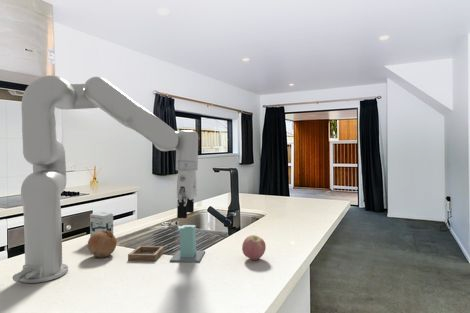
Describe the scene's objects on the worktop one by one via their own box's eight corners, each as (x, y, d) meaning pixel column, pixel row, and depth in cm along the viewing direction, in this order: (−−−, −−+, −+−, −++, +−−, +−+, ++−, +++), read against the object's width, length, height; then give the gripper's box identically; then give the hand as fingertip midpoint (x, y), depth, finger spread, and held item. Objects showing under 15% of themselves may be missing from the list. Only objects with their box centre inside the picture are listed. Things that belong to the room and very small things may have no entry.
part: (192, 257, 103) (192, 228, 103) (180, 257, 104) (179, 228, 104) (196, 253, 108) (195, 225, 108) (183, 252, 108) (183, 225, 108)
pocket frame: (155, 261, 102) (155, 255, 102) (128, 260, 103) (128, 254, 103) (164, 251, 111) (164, 246, 111) (139, 251, 112) (139, 245, 112)
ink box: (89, 242, 124) (89, 213, 124) (100, 239, 129) (99, 211, 128) (104, 245, 120) (103, 215, 120) (114, 241, 124) (113, 213, 124)
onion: (113, 262, 110) (126, 236, 111) (96, 264, 101) (110, 236, 102) (95, 250, 113) (107, 225, 114) (76, 251, 104) (90, 224, 105)
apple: (246, 264, 98) (245, 240, 98) (239, 256, 105) (239, 234, 105) (268, 262, 100) (268, 238, 100) (260, 254, 107) (260, 232, 107)
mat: (199, 262, 100) (199, 260, 100) (170, 261, 101) (170, 259, 101) (205, 252, 110) (205, 250, 110) (178, 251, 111) (178, 250, 111)
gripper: (191, 167, 96) (190, 220, 96) (202, 165, 113) (201, 210, 114) (168, 166, 97) (167, 219, 97) (182, 165, 114) (181, 210, 114)
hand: (185, 215), depth 105 cm, fingers open, 9 cm apart
